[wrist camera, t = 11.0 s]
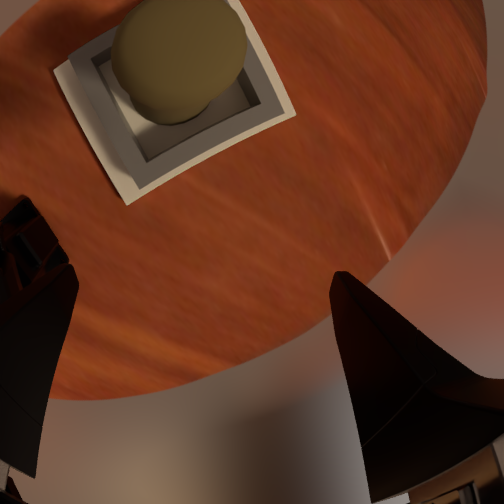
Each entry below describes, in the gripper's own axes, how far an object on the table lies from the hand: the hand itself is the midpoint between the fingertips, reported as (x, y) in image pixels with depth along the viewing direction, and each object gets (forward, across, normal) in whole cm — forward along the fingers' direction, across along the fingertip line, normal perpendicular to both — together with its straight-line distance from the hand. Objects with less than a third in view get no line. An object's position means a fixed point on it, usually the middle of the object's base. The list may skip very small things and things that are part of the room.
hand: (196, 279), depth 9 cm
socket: (+14, +4, -6) cm, 16 cm away
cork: (+14, +3, -6) cm, 15 cm away
